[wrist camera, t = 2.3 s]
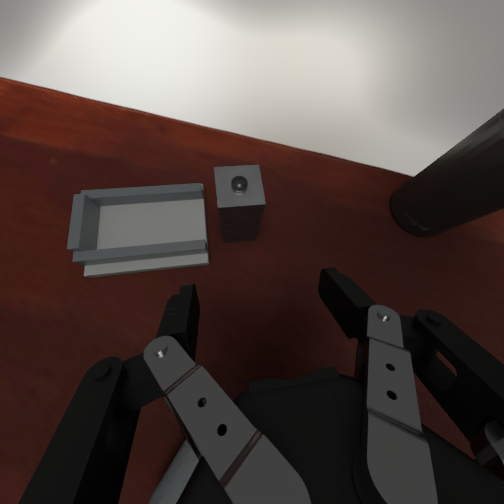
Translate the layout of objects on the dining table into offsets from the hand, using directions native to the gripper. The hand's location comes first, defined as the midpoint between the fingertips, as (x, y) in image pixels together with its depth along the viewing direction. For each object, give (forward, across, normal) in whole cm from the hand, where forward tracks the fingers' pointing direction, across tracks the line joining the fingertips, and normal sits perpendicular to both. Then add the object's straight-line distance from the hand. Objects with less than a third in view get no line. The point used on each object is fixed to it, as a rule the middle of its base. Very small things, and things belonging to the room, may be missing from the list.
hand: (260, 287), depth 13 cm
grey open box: (+18, +12, +2) cm, 22 cm away
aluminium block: (+18, 0, +3) cm, 18 cm away
